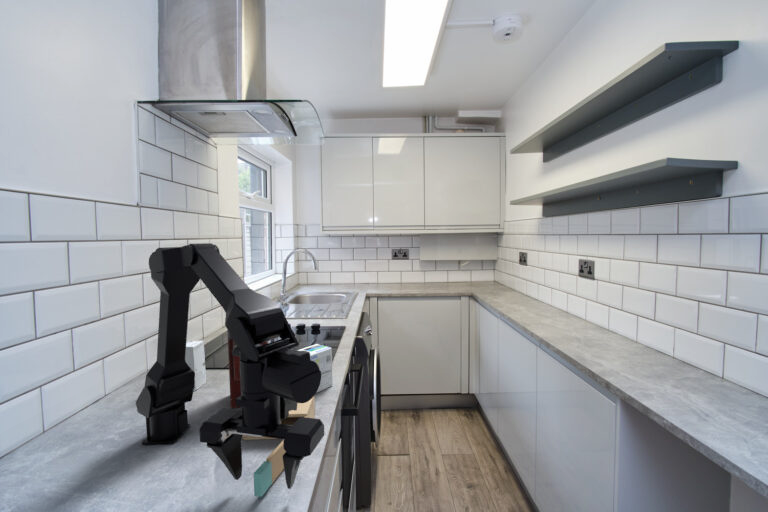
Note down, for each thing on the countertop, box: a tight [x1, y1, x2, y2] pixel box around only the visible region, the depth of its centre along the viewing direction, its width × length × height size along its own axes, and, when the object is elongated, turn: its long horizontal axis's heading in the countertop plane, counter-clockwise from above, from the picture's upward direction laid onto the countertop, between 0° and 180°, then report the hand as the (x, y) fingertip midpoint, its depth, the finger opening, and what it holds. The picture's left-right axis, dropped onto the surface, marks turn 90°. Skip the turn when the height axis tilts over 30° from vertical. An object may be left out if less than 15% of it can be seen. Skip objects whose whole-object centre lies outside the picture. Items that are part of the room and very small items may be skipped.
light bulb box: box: [296, 343, 333, 394], centre depth 91 cm, size 11×7×11 cm, turn 141°
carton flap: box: [253, 417, 308, 498], centre depth 60 cm, size 16×1×4 cm, turn 166°
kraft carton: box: [242, 394, 316, 441], centre depth 73 cm, size 13×9×5 cm
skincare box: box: [185, 340, 207, 392], centre depth 94 cm, size 6×4×12 cm
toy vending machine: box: [226, 288, 269, 409], centre depth 86 cm, size 9×11×28 cm
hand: (264, 482), depth 54 cm, fingers open, 9 cm apart
